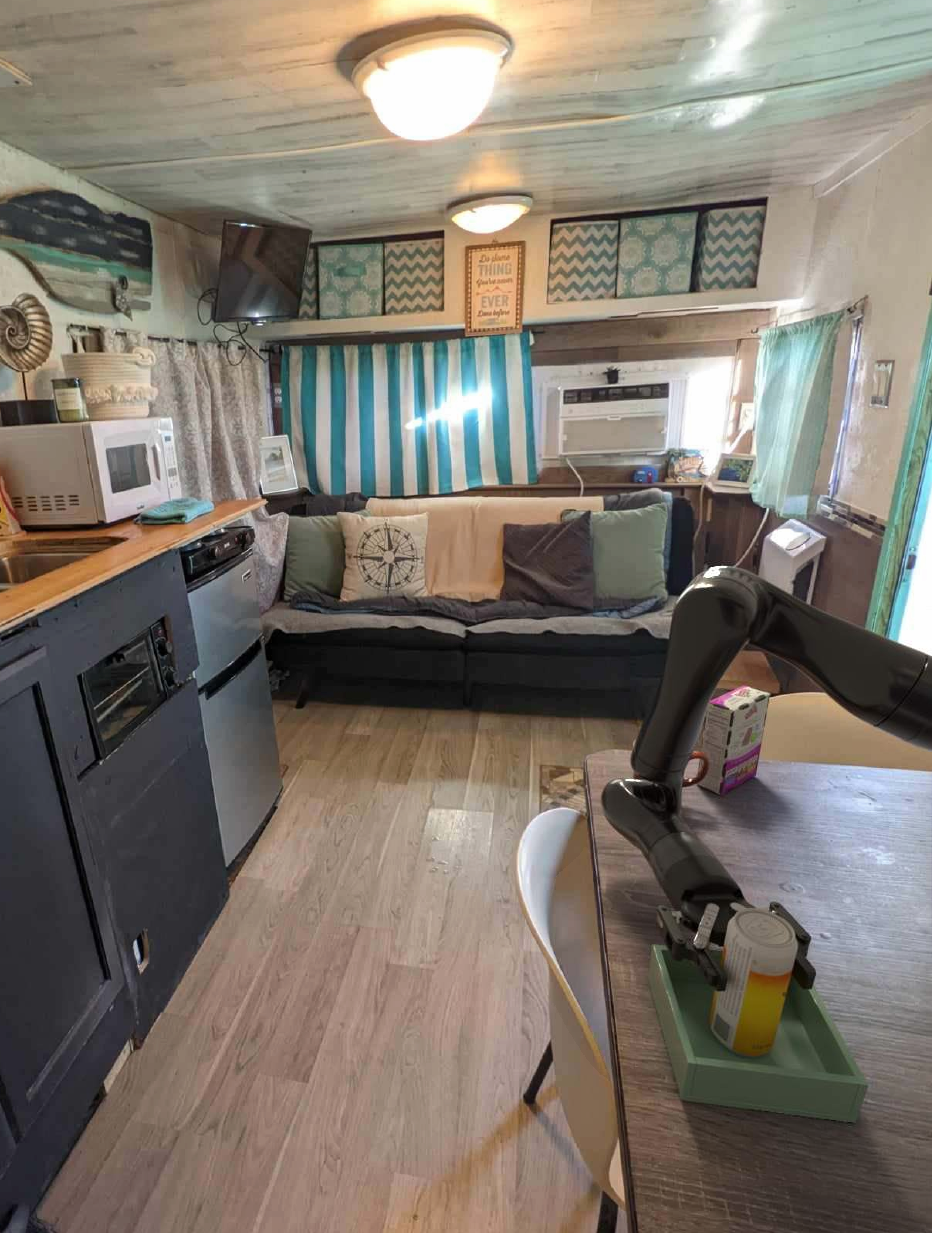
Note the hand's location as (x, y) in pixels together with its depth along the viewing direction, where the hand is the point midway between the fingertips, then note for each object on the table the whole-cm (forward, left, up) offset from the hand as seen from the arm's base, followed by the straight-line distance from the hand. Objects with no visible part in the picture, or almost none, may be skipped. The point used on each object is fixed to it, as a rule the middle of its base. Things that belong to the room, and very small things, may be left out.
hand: (766, 984), depth 68 cm
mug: (-3, -50, -11) cm, 51 cm away
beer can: (0, -2, -10) cm, 10 cm away
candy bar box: (-15, -58, -11) cm, 61 cm away
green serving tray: (0, -2, -10) cm, 10 cm away
